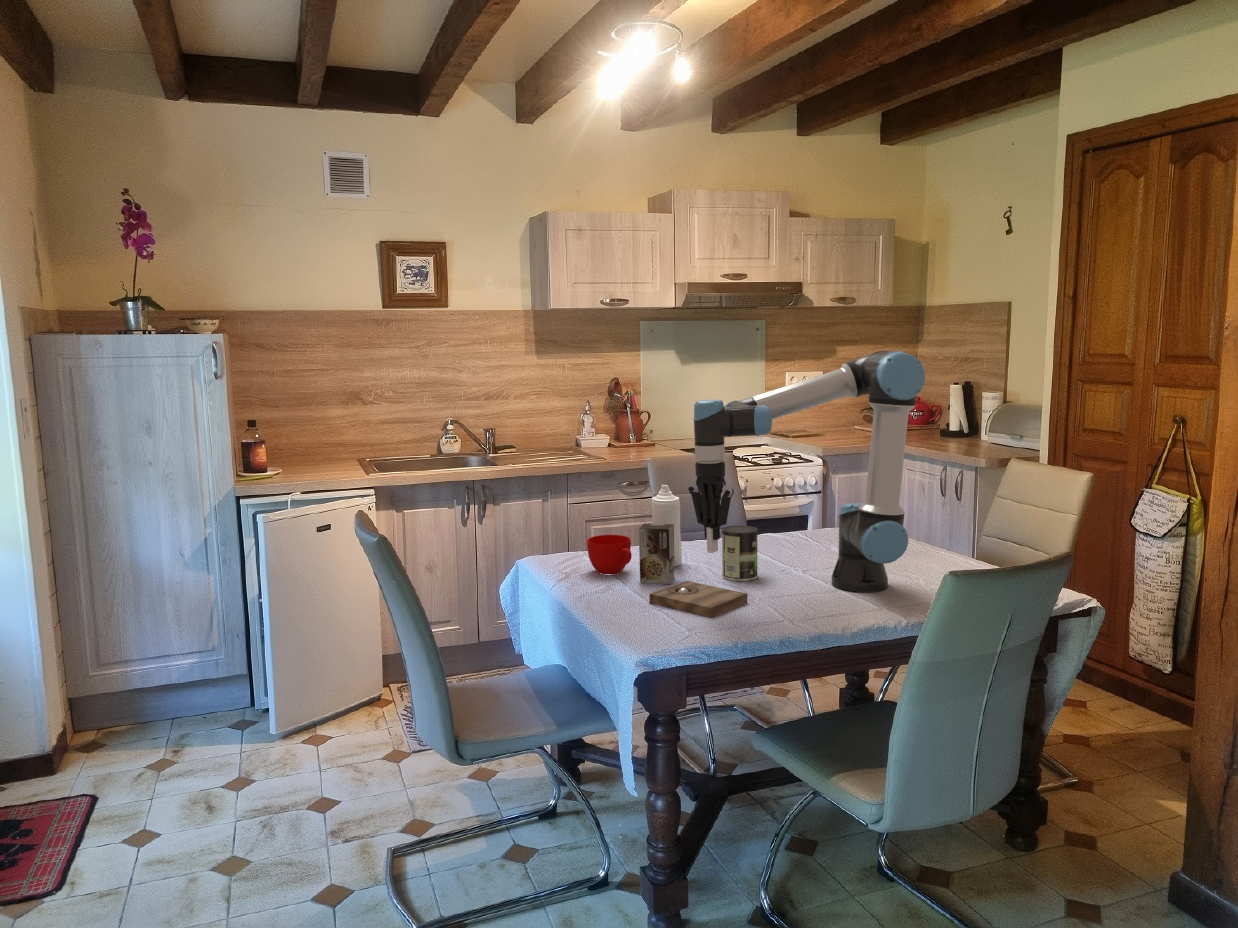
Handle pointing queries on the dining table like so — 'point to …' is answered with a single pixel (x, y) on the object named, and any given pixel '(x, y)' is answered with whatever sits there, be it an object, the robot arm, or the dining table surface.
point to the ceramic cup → (609, 553)
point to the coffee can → (739, 553)
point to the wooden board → (698, 598)
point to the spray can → (668, 516)
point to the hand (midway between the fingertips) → (712, 551)
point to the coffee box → (656, 553)
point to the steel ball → (683, 590)
